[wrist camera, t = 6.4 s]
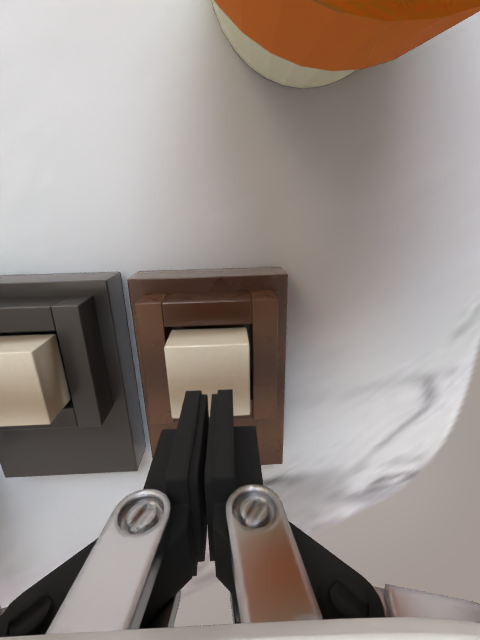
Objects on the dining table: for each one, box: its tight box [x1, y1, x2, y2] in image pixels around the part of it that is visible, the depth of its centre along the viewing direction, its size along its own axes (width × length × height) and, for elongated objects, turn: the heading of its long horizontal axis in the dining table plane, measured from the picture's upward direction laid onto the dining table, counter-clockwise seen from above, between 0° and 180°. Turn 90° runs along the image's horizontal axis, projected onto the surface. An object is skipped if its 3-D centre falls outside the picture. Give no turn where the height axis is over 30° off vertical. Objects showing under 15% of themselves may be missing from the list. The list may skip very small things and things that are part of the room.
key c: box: [0, 334, 71, 427], centre depth 15 cm, size 4×4×2 cm
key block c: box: [0, 272, 146, 478], centre depth 18 cm, size 12×8×4 cm, turn 1°
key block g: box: [127, 267, 288, 465], centre depth 18 cm, size 12×8×4 cm, turn 1°
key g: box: [164, 327, 250, 418], centre depth 15 cm, size 4×4×2 cm
